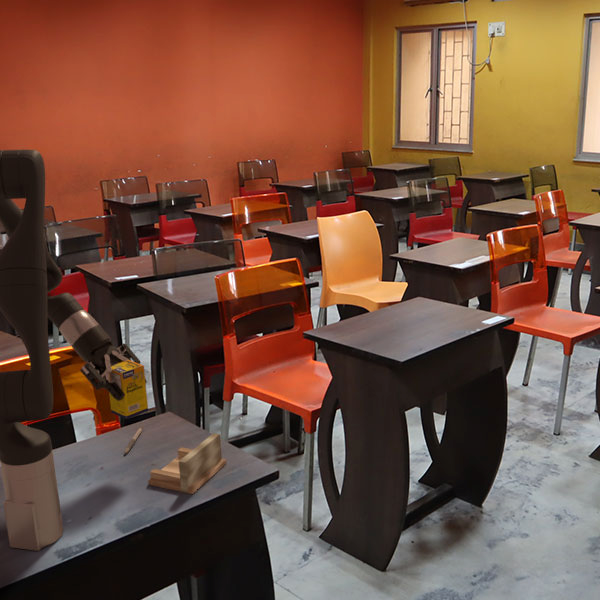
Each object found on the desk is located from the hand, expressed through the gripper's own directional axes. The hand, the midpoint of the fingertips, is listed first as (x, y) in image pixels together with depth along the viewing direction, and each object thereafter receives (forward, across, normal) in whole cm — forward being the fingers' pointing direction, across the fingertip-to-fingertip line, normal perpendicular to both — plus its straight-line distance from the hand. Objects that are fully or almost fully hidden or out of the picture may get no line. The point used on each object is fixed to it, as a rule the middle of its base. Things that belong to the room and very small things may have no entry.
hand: (133, 391), depth 166 cm
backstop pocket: (+21, 0, +4) cm, 21 cm away
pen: (+7, +8, +19) cm, 22 cm away
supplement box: (+3, 0, +5) cm, 6 cm away
